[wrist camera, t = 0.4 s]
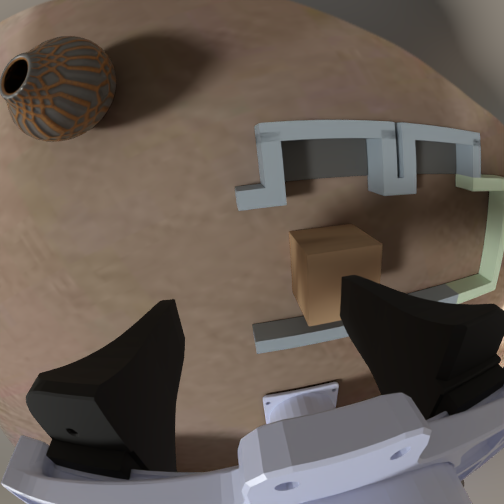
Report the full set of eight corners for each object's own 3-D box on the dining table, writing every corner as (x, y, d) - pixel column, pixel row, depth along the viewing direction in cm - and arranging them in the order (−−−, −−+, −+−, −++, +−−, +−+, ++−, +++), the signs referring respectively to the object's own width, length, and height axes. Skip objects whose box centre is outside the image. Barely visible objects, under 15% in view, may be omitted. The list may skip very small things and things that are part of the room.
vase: (113, 38, 14) (59, -10, 6) (140, 111, 17) (84, 88, 9) (42, 86, 15) (-31, 71, 6) (64, 157, 17) (-13, 171, 9)
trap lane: (482, 281, 25) (495, 289, 23) (253, 335, 24) (257, 353, 21) (494, 138, 19) (510, 140, 17) (227, 129, 18) (228, 126, 16)
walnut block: (349, 281, 23) (376, 312, 18) (292, 291, 23) (308, 326, 18) (350, 223, 21) (382, 244, 16) (288, 231, 21) (307, 255, 16)
